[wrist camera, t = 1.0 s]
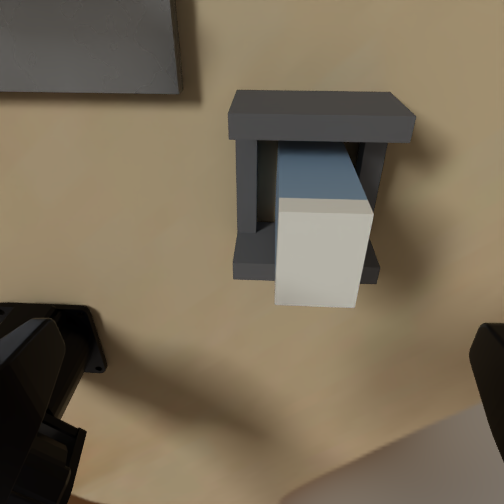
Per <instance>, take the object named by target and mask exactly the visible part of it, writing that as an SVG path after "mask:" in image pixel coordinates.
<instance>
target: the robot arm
mask: <svg viewBox="0 0 504 504" xmlns="http://www.w3.org/2000/svg"><path fill="white" fill-rule="evenodd" d="M82 313H83V314H82ZM469 359H470V363H471V367H472V370H473V373H474V377H475V380H476V383H477V387H478V390H479V393H480V397H481V400H482V403H483V406H484V410H485V413H486V417H487V420H488V423H489V426H490V429H491V432H492V435H493V437H494V440H495V442H496V445H497V447H498V450H499V452H500V454H501V457H502V459H503V461H504V323H483V324H482V325H480V327H479V329H478V331H477V333H476V336H475V338H474V341H473V343H472V346H471V348H470V352H469ZM106 368H107V363H106V359H105V356H104V353H103V350H102V347H101V344H100V341H99V337H98V334H97V331H96V328H95V325H94V322H93V319H92V315H91V312H90V310H89V309H88V308H87V307H85V306H80V305H54V304H27V303H0V504H67V502H68V500H69V497H70V495H71V491H72V488H73V484H74V480H75V476H76V472H77V468H78V464H79V460H80V456H81V453H82V449H83V445H84V441H85V437H86V433H87V431H85V430H83V429H81V428H76V427H74V426H72V425H70V424H68V423H66V422H64V421H62V420H61V418H62V416H63V414H64V412H65V410H66V408H67V406H68V404H69V402H70V399H71V397H72V395H73V393H74V391H75V389H76V387H77V385H78V383H79V381H80V379H81V377H82V375H83V373H84V372H90V373H103V372H105V370H106Z"/></svg>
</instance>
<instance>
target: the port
mask: <svg viewBox="0 0 504 504" xmlns="http://www.w3.org/2000/svg"><path fill="white" fill-rule="evenodd" d="M182 90H183V80H182V69H181V58H180V47H179V36H178V26H177V15H176V4H175V0H0V91H4V92H72V93H140V94H179V93H180V92H181V91H182Z"/></svg>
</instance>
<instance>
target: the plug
mask: <svg viewBox="0 0 504 504" xmlns="http://www.w3.org/2000/svg"><path fill="white" fill-rule="evenodd" d="M373 216H374V213H373V211H372V209H371V206H370V204H369V202H368V199H367V197H366V195H365V192H364V190H363V188H362V185H361V183H360V181H359V178H358V176H357V174H356V171H355V169H354V166H353V164H352V162H351V159H350V157H349V155H348V152H347V150H346V148H345V145H344V143H343V142H332V141H281V140H278V155H277V179H276V203H275V305H291V306H317V307H344V308H355V304H356V299H357V294H358V289H359V284H360V279H361V274H362V270H363V265H364V260H365V255H366V250H367V245H368V240H369V236H370V231H371V226H372V221H373Z"/></svg>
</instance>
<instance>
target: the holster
mask: <svg viewBox="0 0 504 504" xmlns="http://www.w3.org/2000/svg"><path fill="white" fill-rule="evenodd" d="M415 120H416V116H415V115H414V114H413V113H412V112H411V111H410V110H409V109H408V108H407V107H406V106H405V105H403V104H402V103H401V102H400V101H399V100H398V99H397V98H396V97H395V96H394V95H393V94H392V93H391V92H349V91H279V90H237V91H236V94H235V96H234V99H233V101H232V104H231V107H230V109H229V112H228V129H229V139H230V140H236V183H237V229H238V233H237V239H236V246H235V252H234V258H233V279H240V280H269V281H275V222H257V177H258V140H281V141H332V142H360V144H359V150H358V156H357V162H356V168H355V171H356V174H357V176H358V178H359V181H360V183H361V185H362V188H363V190H364V192H365V195H366V197H367V199H368V202H369V204H370V206H371V209H372V211H373V212H374V208H375V203H376V198H377V193H378V188H379V183H380V178H381V173H382V169H383V164H384V159H385V154H386V149H387V144H388V143H410V141H411V137H412V132H413V128H414V124H415ZM379 271H380V266H379V263H378V260H377V258H376V255H375V252H374V249H373V247H372V244H371V241H370V239H369V240H368V245H367V250H366V255H365V260H364V265H363V270H362V274H361V279H360V284H377V279H378V275H379Z"/></svg>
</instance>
